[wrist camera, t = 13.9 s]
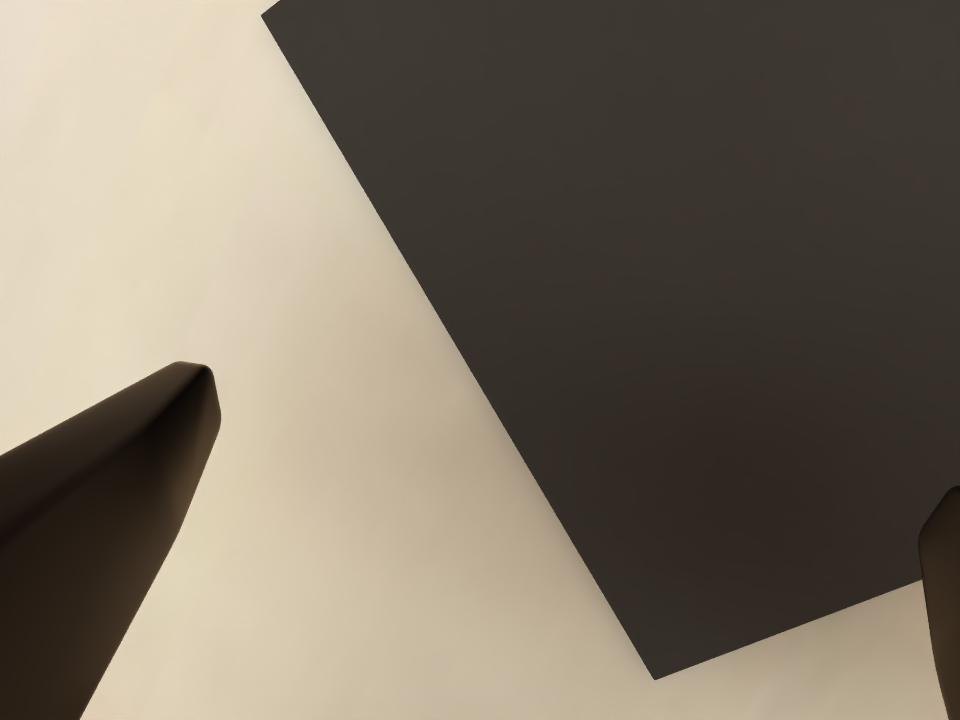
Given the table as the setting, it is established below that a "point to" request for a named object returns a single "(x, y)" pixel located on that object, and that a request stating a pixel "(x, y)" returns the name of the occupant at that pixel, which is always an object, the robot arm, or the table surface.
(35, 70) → the table surface
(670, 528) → the mat
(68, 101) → the table surface
